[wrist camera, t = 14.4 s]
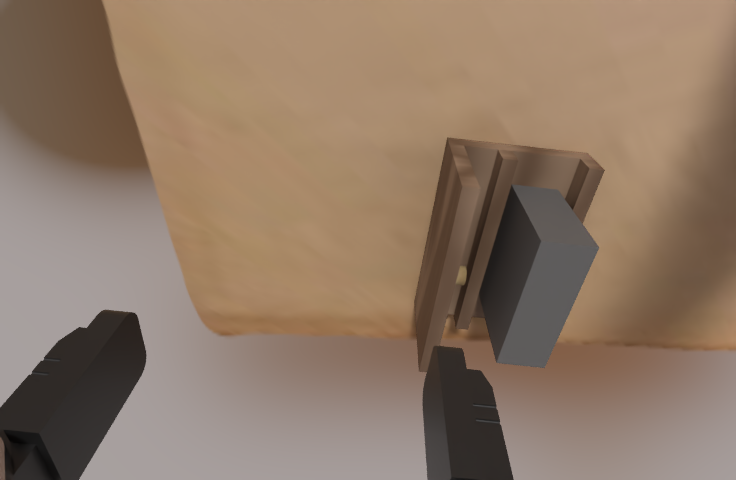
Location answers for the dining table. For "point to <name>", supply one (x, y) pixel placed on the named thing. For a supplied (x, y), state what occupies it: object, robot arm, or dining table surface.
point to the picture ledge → (483, 223)
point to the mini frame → (533, 274)
